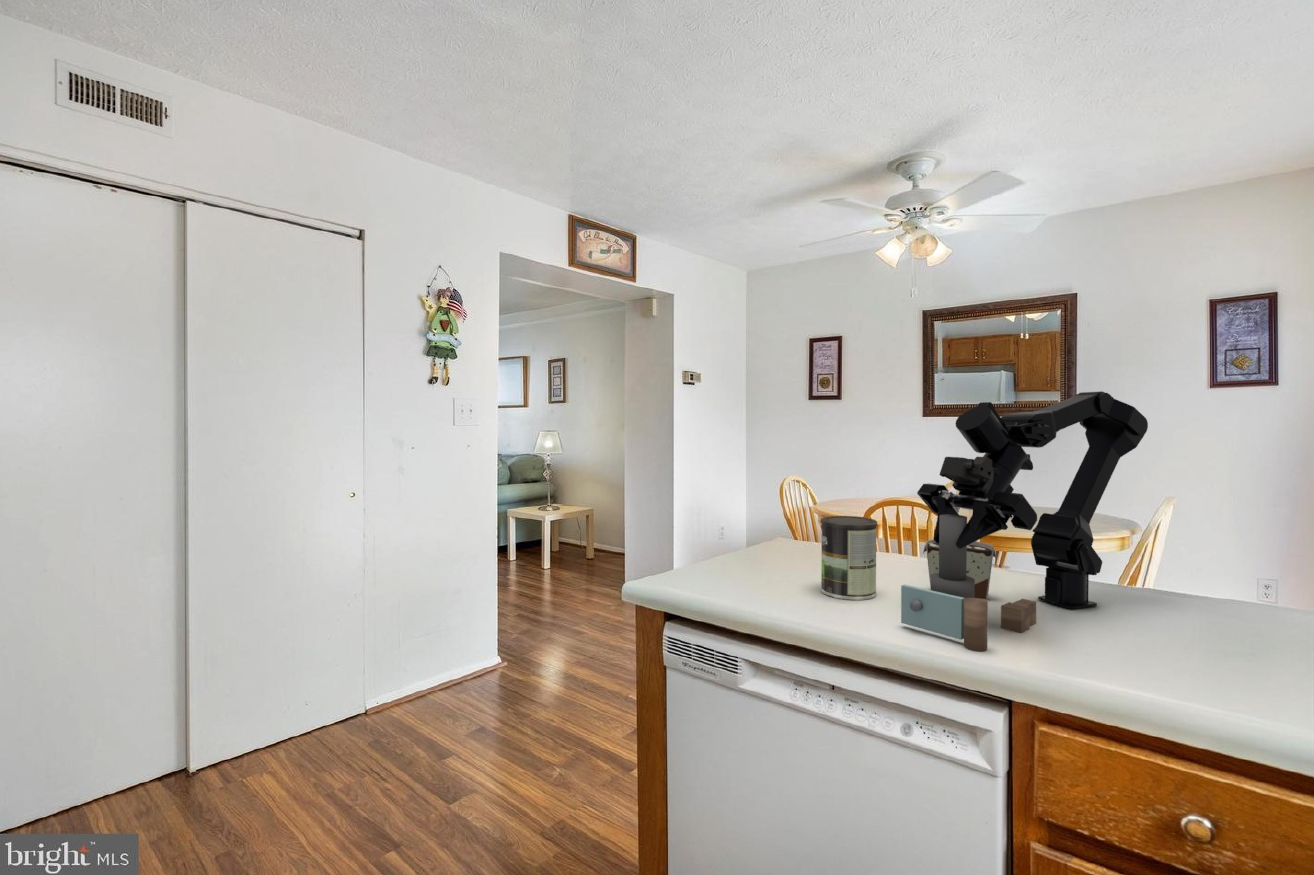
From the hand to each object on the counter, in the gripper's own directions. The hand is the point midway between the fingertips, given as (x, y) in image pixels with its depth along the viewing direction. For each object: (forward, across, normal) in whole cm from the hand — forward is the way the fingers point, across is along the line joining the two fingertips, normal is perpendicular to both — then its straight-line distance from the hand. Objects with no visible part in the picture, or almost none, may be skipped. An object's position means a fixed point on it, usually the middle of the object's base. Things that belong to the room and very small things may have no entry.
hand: (946, 544), depth 96 cm
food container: (-2, -12, +21) cm, 24 cm away
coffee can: (+11, -21, +8) cm, 25 cm away
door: (+13, +3, +4) cm, 14 cm away
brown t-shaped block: (+6, +7, +12) cm, 15 cm away
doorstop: (+5, 0, +7) cm, 9 cm away
